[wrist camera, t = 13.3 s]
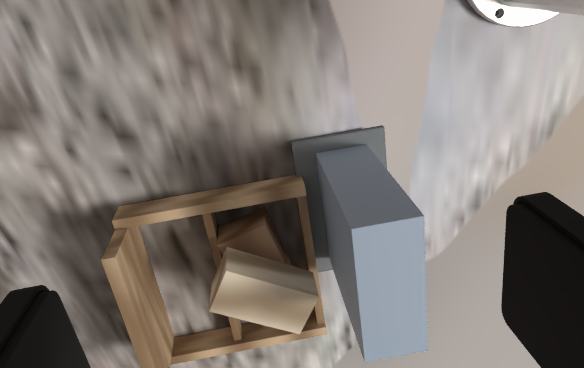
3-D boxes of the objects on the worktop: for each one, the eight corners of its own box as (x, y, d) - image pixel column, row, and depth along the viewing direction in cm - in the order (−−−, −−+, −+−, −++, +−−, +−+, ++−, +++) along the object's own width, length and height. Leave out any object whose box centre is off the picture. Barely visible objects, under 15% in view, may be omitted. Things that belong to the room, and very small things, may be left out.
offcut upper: (226, 246, 44) (226, 270, 41) (312, 271, 46) (319, 296, 43) (211, 284, 46) (209, 311, 42) (294, 307, 48) (299, 334, 44)
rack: (300, 173, 46) (313, 210, 39) (322, 316, 53) (336, 369, 46) (119, 206, 45) (96, 249, 38) (166, 346, 53) (155, 404, 45)
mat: (382, 125, 45) (384, 127, 44) (390, 255, 51) (392, 258, 51) (290, 141, 45) (291, 143, 44) (310, 270, 51) (311, 273, 50)
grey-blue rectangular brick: (366, 144, 45) (424, 215, 31) (374, 249, 50) (427, 350, 36) (315, 153, 45) (351, 229, 31) (328, 257, 50) (365, 362, 36)
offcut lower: (263, 206, 47) (265, 225, 44) (303, 285, 52) (308, 309, 48) (218, 225, 48) (217, 245, 44) (262, 302, 52) (264, 326, 49)
